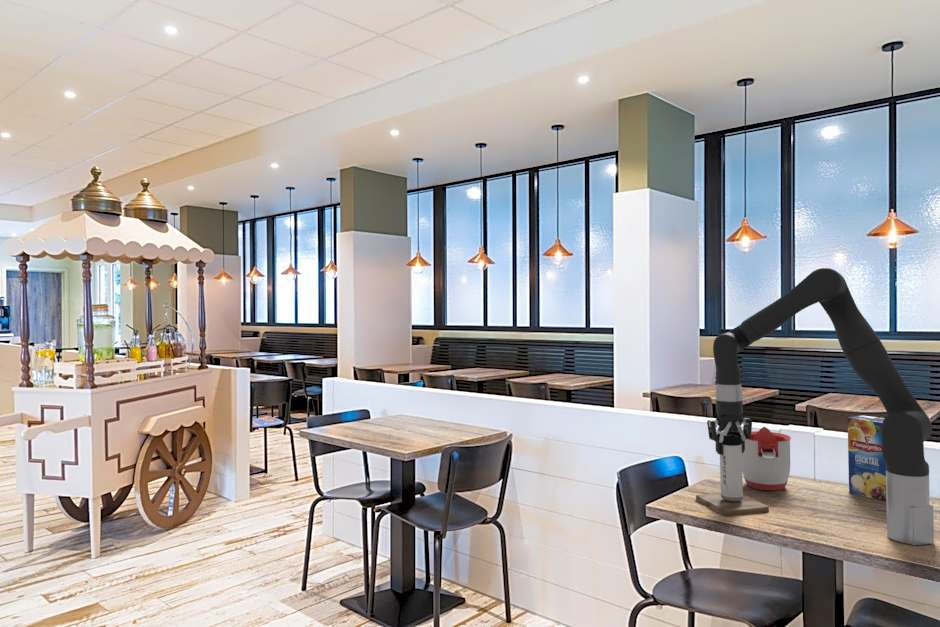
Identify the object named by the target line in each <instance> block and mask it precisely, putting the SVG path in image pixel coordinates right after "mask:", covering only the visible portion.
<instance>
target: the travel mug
mask: <svg viewBox="0 0 940 627" xmlns="http://www.w3.org/2000/svg"><path fill="white" fill-rule="evenodd" d="M722 443H723V455H720V454H719V473H720V474H719V475H720V493H721V498H722V499H724V500H728V501H740V500H742V499H743V495H744V486H743V485H744V483H743V480H744V479H743V472H742V444H741V435H739V434H736V433H735V432H730V433H727V435H726V436H725V437H724V439H723V442H722Z"/></svg>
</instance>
